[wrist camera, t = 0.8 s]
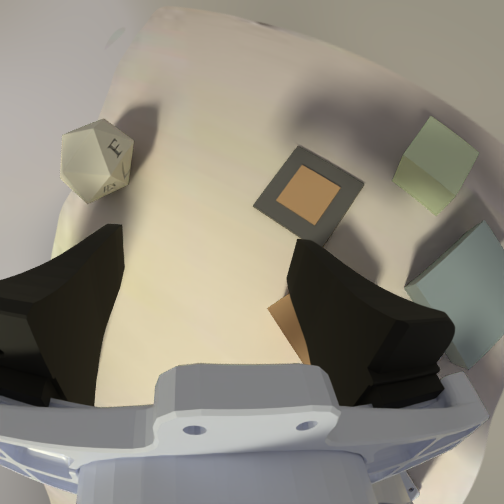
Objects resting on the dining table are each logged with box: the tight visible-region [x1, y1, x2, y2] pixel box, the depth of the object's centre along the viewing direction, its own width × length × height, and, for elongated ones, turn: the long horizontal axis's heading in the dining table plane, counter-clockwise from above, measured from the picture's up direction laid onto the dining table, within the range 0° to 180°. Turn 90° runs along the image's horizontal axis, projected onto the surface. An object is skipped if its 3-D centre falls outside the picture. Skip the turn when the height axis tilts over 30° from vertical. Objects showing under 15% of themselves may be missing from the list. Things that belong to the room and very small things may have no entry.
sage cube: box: [392, 116, 479, 216], centre depth 21 cm, size 5×5×5 cm
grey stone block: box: [60, 119, 134, 204], centre depth 29 cm, size 8×9×10 cm
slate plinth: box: [404, 220, 504, 370], centre depth 20 cm, size 8×8×4 cm
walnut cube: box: [267, 294, 311, 365], centre depth 22 cm, size 5×5×5 cm
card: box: [253, 146, 364, 247], centre depth 26 cm, size 7×7×1 cm
